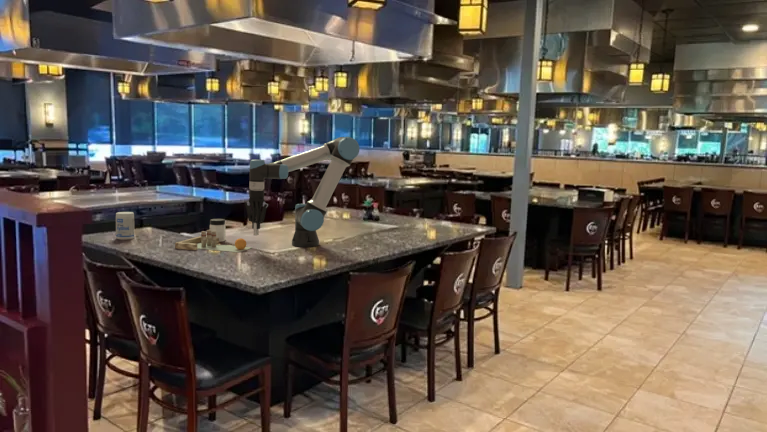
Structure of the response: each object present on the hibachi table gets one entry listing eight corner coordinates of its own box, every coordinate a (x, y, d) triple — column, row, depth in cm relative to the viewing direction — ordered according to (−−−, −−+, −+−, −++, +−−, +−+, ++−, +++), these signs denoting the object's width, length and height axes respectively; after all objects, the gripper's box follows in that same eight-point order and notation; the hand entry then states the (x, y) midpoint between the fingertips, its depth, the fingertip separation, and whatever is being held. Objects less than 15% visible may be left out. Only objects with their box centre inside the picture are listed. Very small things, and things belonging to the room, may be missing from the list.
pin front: (217, 247, 306) (217, 231, 304) (214, 247, 303) (214, 232, 302) (213, 246, 306) (212, 231, 305) (210, 247, 304) (210, 231, 303)
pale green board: (252, 247, 306) (252, 247, 306) (238, 252, 293) (238, 252, 293) (200, 243, 315) (200, 242, 315) (184, 247, 302) (184, 247, 302)
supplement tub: (115, 240, 316) (114, 214, 314) (116, 237, 325) (115, 211, 323) (134, 239, 320) (134, 213, 318) (134, 236, 329) (134, 211, 327)
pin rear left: (207, 247, 304) (207, 231, 303) (204, 247, 302) (204, 232, 301) (203, 246, 305) (202, 231, 304) (200, 247, 303) (200, 231, 302)
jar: (212, 242, 319) (211, 221, 317) (207, 240, 325) (207, 219, 324) (227, 241, 323) (227, 220, 322) (223, 238, 330) (223, 218, 329)
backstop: (218, 243, 316) (218, 237, 316) (195, 250, 295) (195, 244, 295) (199, 241, 320) (199, 236, 319) (175, 248, 299) (175, 242, 298)
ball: (248, 249, 302) (248, 237, 302) (242, 251, 297) (242, 239, 296) (238, 248, 304) (238, 237, 303) (232, 250, 298) (232, 238, 298)
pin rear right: (212, 245, 309) (212, 230, 308) (209, 246, 307) (209, 230, 306) (208, 245, 310) (208, 229, 309) (205, 246, 308) (205, 230, 306)
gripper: (241, 189, 292) (241, 235, 295) (264, 191, 288) (263, 237, 291) (249, 188, 299) (248, 233, 302) (271, 190, 295) (270, 235, 298)
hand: (256, 235), depth 297 cm, fingers closed
